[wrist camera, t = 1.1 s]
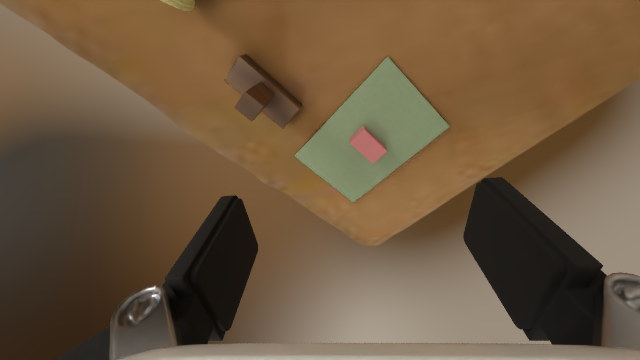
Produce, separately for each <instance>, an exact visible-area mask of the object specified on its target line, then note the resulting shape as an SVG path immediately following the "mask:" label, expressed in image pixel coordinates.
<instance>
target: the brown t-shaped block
mask: <svg viewBox="0 0 640 360" xmlns="http://www.w3.org/2000/svg"><path fill="white" fill-rule="evenodd" d="M224 81H225V82H227V83H228V84H229V85H230V86H232V87H233V88H234V89H235V90H236V91H238V92H239V93H240V94H241V95H242V97H241V99H240V100H239V102H238V103H237V104H236V106H235V109H237V110H238V111H239V112H241V113H242V114H243V115H244V116H246V117H247V118H248V119H249V120H251V121H253V120H254V119H255V118H256V117H257V116H258V115H259V114H260V113H261V111H262V112H263V113H264V114H266V115H267V116H268V117H269V118H271V119H272V120H273V121H274V122H275V123H277V124H278V125H279V126H280V127H281V128H284V127H285V126H286V124H287V123H288V122H289V121H290V120H291V118H292V117H293V116H294V115H295V114H296V113H297V111H298V110H299V109H300V107H301V105H302V104H301V103H300V102H299V101H298V100H297V99H296V98H294V97H293V96H292V95H291V94H290V93H289V92H288V91H287V90H285V89H284V88H283V87H282V86H281V85H280V84H279V83H277V82H276V81H275V80H274V79H273V78H272V77H271V76H270V75H268V74H267V73H266V72H265V71H264V70H263V69H262V68H261V67H259V66H258V65H257V64H256V63H255V62H254V61H253V60H252V59H250V58H249V57H248V56H247V55H246V54H245V55H241V56H239V57H238V59H237V60H236V62H235V64H234V65H233V67H232V68H231V70H230V72H229V73H228V75H227V77H226V78H225V80H224Z"/></svg>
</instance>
